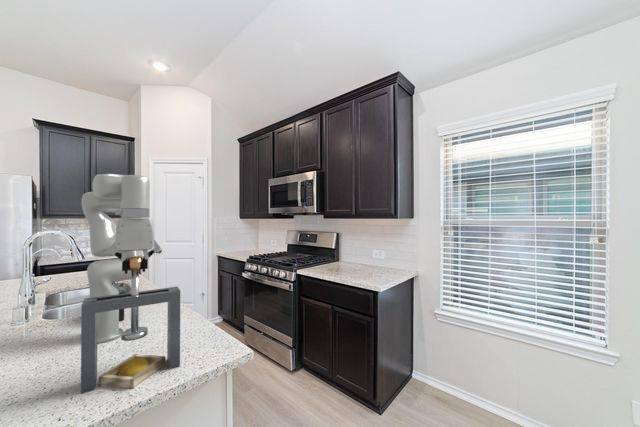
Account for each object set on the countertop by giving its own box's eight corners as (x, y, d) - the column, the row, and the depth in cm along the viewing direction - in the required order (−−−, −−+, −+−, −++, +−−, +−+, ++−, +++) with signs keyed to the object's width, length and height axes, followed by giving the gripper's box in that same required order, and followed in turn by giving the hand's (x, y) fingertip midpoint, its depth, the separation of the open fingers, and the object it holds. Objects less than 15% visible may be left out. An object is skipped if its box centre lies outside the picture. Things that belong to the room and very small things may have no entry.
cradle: (98, 385, 81) (98, 376, 81) (134, 361, 95) (134, 353, 95) (133, 388, 80) (133, 379, 80) (165, 363, 93) (165, 356, 93)
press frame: (84, 381, 83) (84, 298, 83) (176, 357, 97) (177, 286, 97) (80, 394, 77) (81, 304, 77) (179, 366, 91) (180, 291, 92)
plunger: (121, 334, 88) (121, 256, 88) (147, 329, 92) (147, 254, 92) (120, 342, 82) (121, 259, 83) (148, 337, 86) (148, 257, 87)
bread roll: (121, 386, 81) (121, 372, 81) (117, 373, 88) (117, 360, 88) (153, 375, 87) (153, 362, 87) (147, 364, 93) (147, 352, 93)
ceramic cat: (127, 320, 131) (128, 278, 131) (110, 324, 126) (111, 281, 126) (117, 311, 144) (117, 272, 144) (101, 314, 139) (101, 274, 139)
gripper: (100, 214, 80) (100, 277, 80) (166, 214, 89) (166, 271, 89) (103, 214, 86) (102, 273, 86) (164, 214, 95) (164, 267, 95)
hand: (135, 271), depth 87 cm, fingers closed on plunger, 4 cm apart
